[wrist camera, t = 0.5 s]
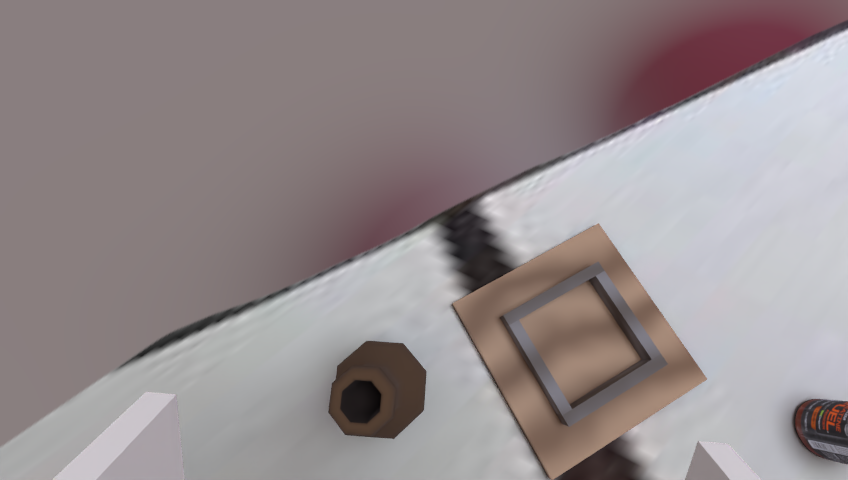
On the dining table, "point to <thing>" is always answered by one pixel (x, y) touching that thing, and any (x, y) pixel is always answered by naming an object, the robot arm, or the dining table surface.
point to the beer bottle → (378, 390)
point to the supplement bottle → (824, 428)
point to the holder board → (577, 348)
